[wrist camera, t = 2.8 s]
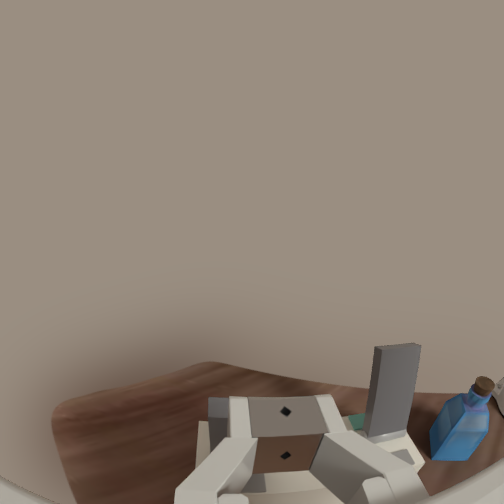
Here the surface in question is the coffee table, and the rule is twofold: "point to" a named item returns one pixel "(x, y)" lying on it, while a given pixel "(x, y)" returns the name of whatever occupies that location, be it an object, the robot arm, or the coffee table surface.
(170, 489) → the coffee table surface
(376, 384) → the inner lever
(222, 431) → the outer lever
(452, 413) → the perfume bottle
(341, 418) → the robot arm
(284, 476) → the switch unit
